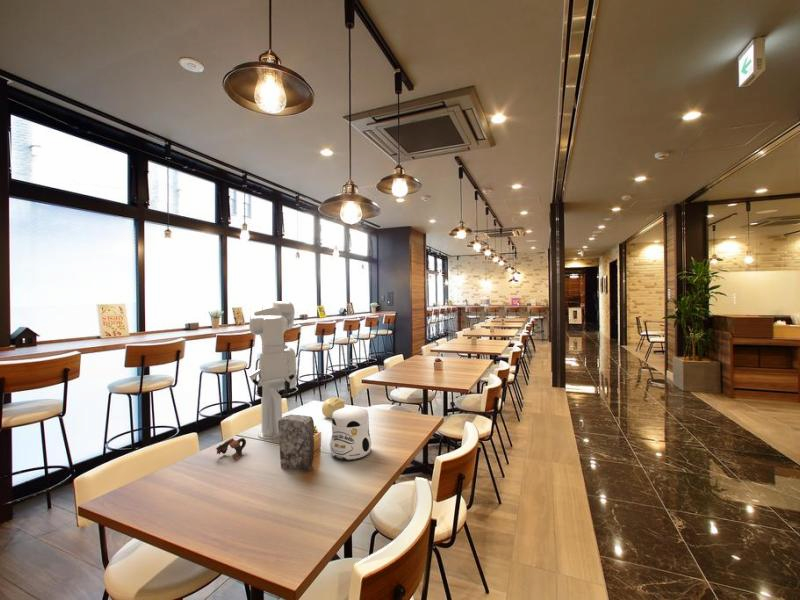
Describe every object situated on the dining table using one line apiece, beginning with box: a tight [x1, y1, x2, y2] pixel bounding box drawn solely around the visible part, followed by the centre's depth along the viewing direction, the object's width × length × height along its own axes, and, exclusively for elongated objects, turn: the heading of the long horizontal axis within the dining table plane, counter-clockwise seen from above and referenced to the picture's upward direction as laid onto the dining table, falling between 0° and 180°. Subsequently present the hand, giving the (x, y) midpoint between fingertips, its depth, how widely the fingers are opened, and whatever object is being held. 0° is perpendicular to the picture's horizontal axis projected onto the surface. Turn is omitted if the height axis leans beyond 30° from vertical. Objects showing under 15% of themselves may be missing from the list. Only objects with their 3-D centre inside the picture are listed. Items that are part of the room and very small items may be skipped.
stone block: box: [278, 414, 315, 473], centre depth 136 cm, size 13×7×20 cm, turn 75°
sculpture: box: [321, 396, 346, 419], centre depth 197 cm, size 12×12×11 cm
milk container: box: [329, 406, 372, 462], centre depth 148 cm, size 17×17×18 cm
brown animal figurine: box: [215, 437, 247, 460], centre depth 149 cm, size 12×9×8 cm
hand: (273, 394), depth 133 cm, fingers open, 9 cm apart
